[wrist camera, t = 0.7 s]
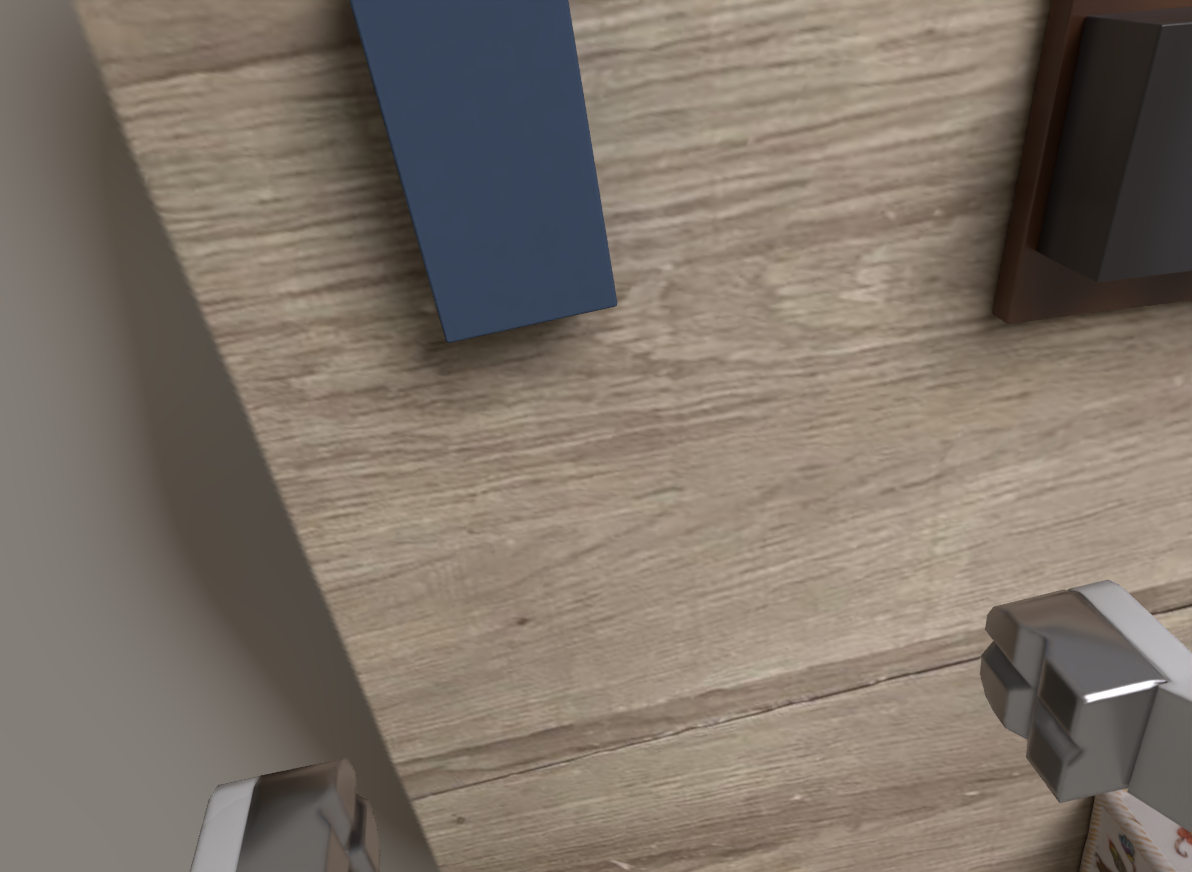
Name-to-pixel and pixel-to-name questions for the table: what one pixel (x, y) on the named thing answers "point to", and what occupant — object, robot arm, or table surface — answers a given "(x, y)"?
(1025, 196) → the pad base
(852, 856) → the table surface
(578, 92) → the loose pad
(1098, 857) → the decorative jar
